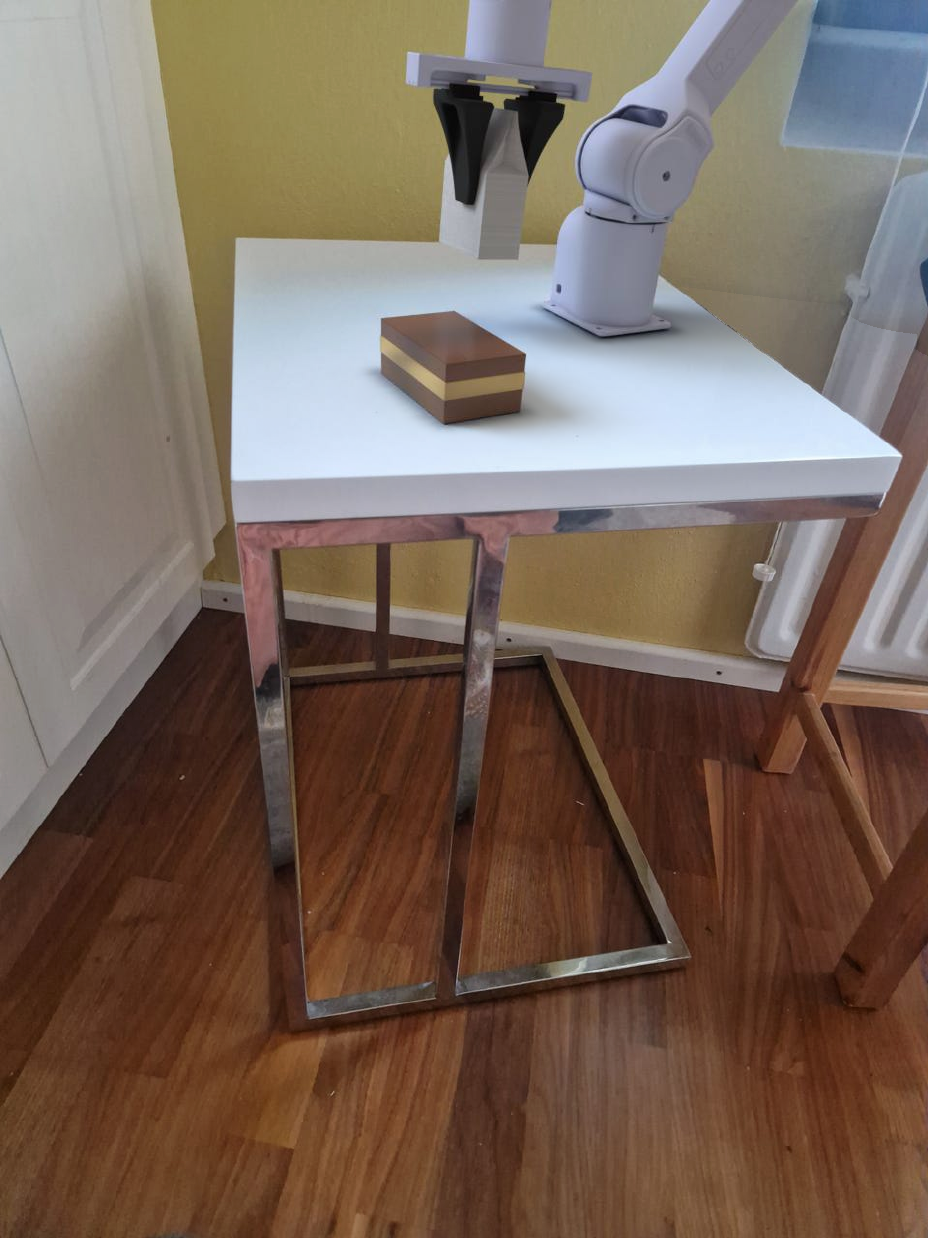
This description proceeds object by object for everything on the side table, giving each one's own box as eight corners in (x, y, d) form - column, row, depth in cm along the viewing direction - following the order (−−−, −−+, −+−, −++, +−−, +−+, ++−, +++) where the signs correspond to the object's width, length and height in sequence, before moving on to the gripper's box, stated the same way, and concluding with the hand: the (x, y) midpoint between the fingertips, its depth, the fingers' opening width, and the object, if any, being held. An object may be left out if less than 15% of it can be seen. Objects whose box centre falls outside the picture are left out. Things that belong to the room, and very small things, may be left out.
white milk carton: (478, 259, 64) (493, 109, 59) (438, 241, 69) (449, 101, 63) (518, 259, 66) (536, 113, 60) (477, 242, 71) (490, 105, 65)
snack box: (379, 372, 61) (379, 317, 59) (452, 363, 64) (454, 310, 61) (443, 424, 54) (446, 364, 52) (521, 411, 57) (527, 353, 54)
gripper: (566, -3, 63) (538, 194, 71) (392, -30, 56) (383, 190, 64) (622, 0, 58) (586, 212, 66) (438, -30, 52) (423, 209, 59)
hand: (488, 202), depth 65 cm, fingers closed on white milk carton, 4 cm apart
